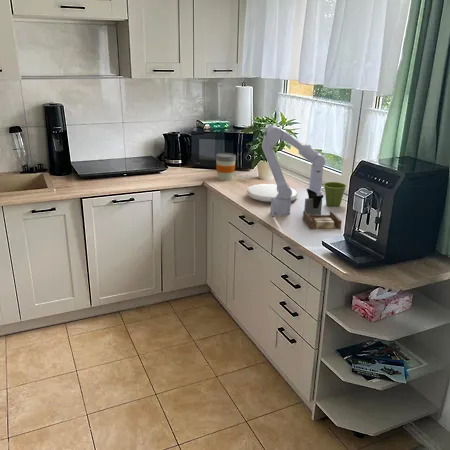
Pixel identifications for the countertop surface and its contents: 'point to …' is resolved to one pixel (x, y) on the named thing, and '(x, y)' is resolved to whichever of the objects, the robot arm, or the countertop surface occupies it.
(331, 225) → the birch offcut
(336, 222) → the walnut rack
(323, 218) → the birch offcut
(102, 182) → the countertop surface
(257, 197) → the plate
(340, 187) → the plant pot
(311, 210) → the gray block
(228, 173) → the reusable coffee cup
